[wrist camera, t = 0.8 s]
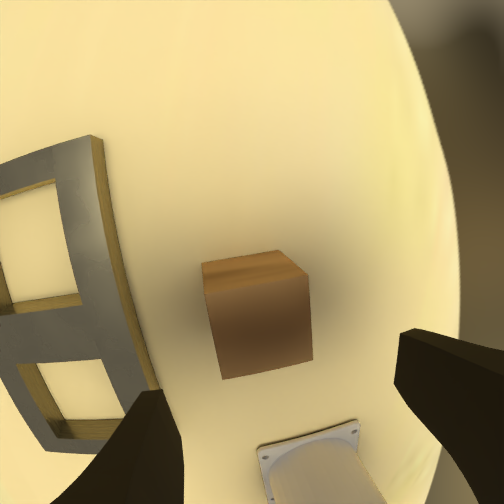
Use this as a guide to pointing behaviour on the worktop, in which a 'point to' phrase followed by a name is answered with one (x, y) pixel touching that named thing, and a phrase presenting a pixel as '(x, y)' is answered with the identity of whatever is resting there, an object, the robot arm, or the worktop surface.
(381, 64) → the worktop surface
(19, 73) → the worktop surface
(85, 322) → the socket plate
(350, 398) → the worktop surface
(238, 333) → the square peg
